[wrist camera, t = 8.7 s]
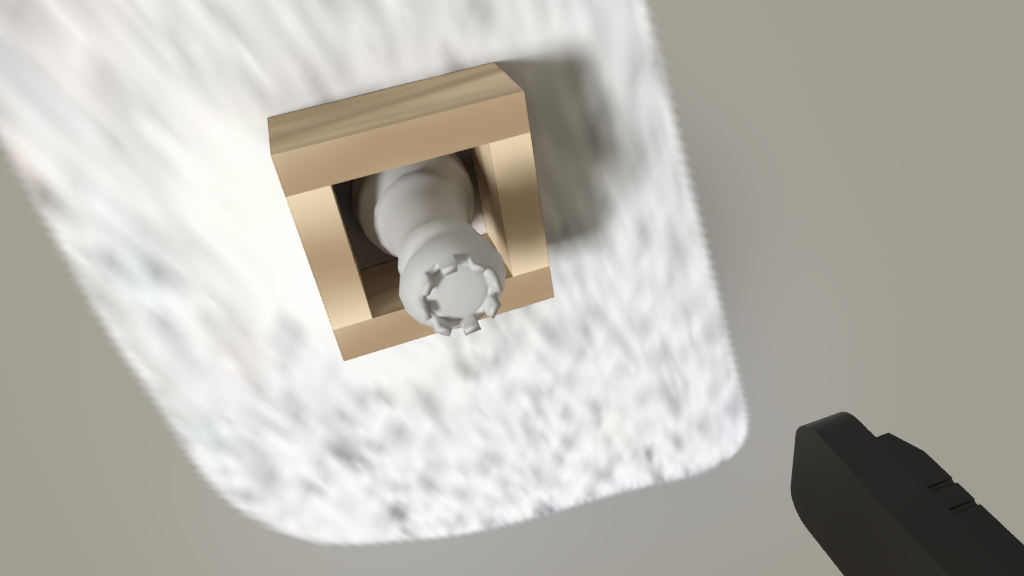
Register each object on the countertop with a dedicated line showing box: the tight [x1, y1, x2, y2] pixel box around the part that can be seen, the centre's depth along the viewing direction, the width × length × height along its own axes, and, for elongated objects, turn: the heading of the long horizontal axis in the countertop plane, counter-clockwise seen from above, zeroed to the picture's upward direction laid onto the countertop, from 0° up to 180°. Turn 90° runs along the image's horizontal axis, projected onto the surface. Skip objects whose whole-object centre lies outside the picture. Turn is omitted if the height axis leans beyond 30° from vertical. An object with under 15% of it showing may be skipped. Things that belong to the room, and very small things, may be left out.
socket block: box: [267, 62, 554, 361], centre depth 27 cm, size 8×8×4 cm
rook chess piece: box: [352, 153, 506, 336], centre depth 25 cm, size 4×4×8 cm
